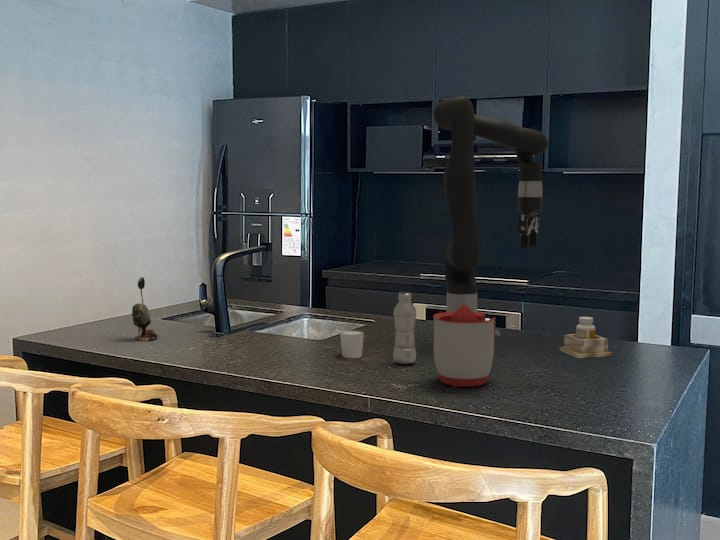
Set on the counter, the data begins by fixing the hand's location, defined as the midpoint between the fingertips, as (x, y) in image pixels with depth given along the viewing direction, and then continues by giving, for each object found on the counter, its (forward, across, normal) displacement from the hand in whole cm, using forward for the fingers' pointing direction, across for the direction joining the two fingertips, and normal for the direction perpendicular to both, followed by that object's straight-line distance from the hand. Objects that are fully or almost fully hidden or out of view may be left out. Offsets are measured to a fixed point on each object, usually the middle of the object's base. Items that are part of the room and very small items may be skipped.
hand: (528, 246), depth 245 cm
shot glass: (+30, -50, +36) cm, 69 cm away
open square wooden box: (+30, -12, -22) cm, 39 cm away
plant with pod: (+30, -63, +107) cm, 128 cm away
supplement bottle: (+29, -12, -22) cm, 39 cm away
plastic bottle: (+30, -51, +18) cm, 62 cm away
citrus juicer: (+30, -61, -4) cm, 68 cm away
